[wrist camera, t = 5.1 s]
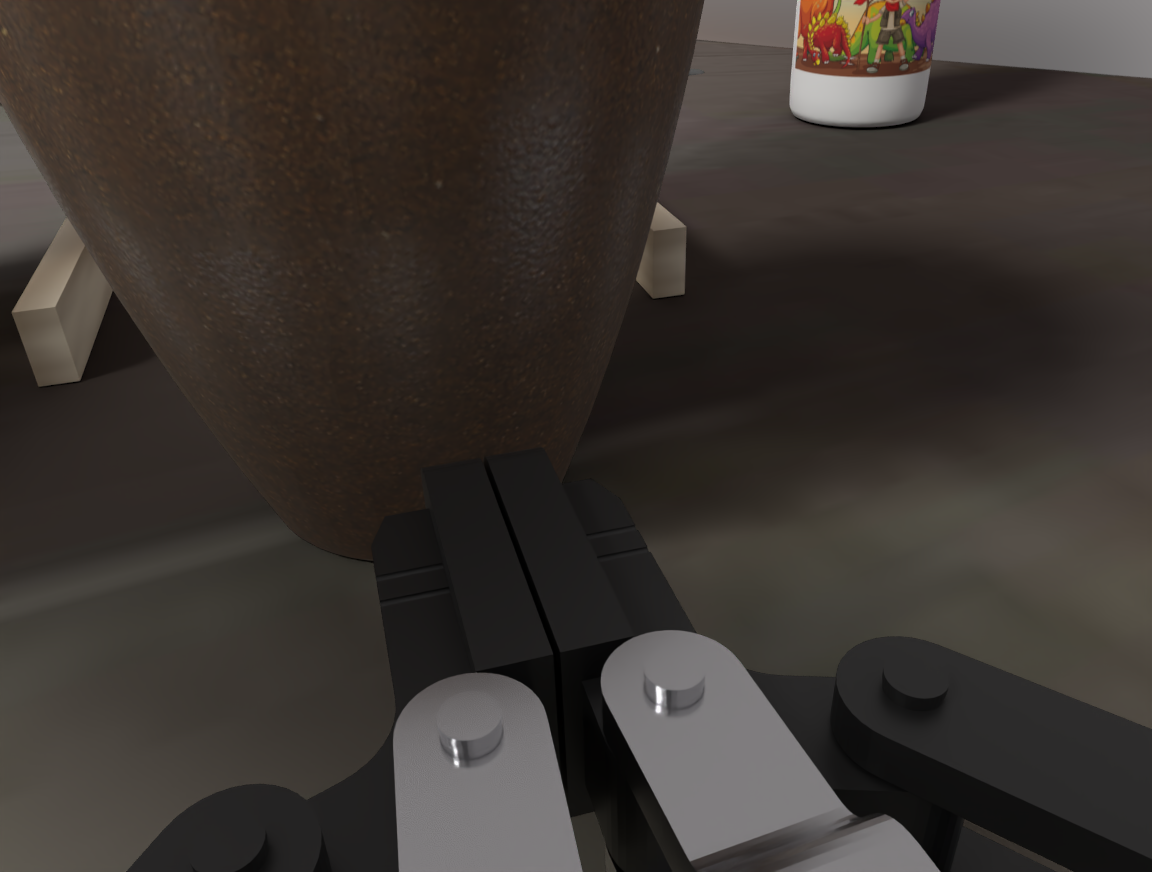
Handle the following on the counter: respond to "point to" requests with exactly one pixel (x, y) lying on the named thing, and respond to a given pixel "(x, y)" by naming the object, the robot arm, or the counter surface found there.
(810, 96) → the milk bottle
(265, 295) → the plant pot
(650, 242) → the wooden frame
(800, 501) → the counter surface
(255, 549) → the counter surface
